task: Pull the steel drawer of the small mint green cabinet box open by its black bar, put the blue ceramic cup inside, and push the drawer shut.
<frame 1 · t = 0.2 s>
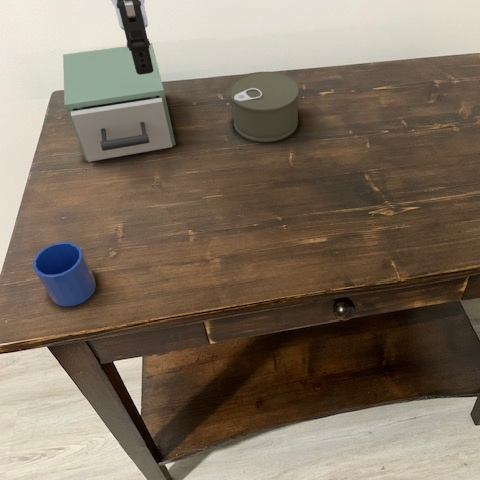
hand: (141, 56, 73), 20 cm above the table, tool pointing down, fingers open, 8 cm apart
drawer: (122, 115, 88), point 5 cm above the table, slide at 0.5 cm
mint green cabinet box: (127, 126, 95), on the table
cup: (73, 289, 70), on the table
can: (266, 123, 97), on the table
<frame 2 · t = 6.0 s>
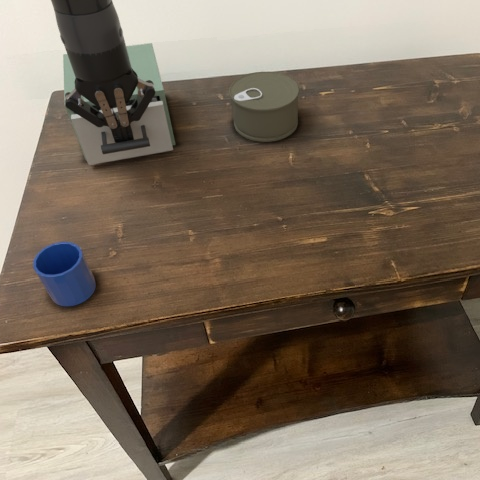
hand: (125, 143, 83), 6 cm above the table, tool pointing down, fingers closed
drawer: (122, 118, 87), point 5 cm above the table, slide at 1.4 cm
everything else where it was.
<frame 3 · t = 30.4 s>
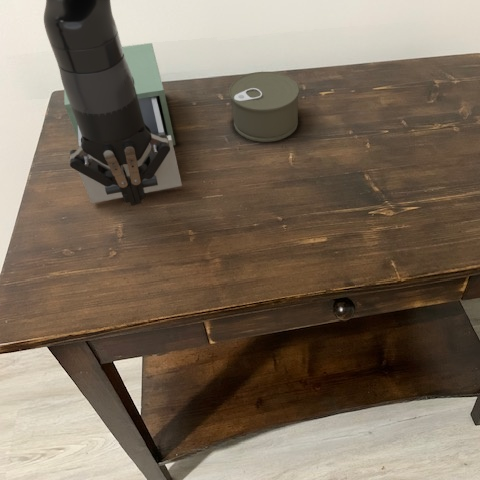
hand: (136, 200, 75), 5 cm above the table, tool pointing down, fingers closed
drawer: (127, 152, 82), point 5 cm above the table, slide at 10.7 cm, touching cup, gripper
cup: (131, 162, 85), point 2 cm above the table, touching drawer
everything else where it was.
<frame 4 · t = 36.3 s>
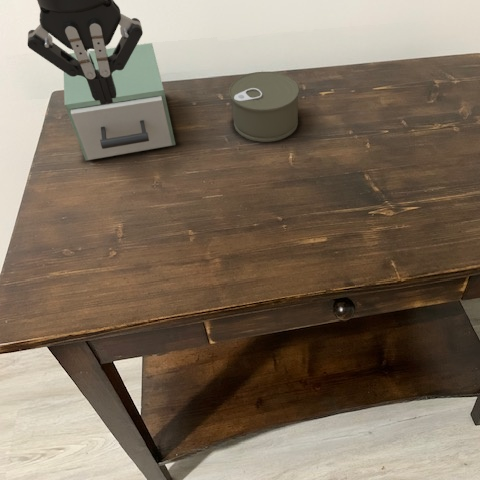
hand: (106, 100, 67), 19 cm above the table, tool pointing down, fingers closed
drawer: (121, 113, 88), point 5 cm above the table, slide at 0.0 cm, touching cup
cup: (125, 124, 92), point 2 cm above the table, touching drawer
everything else where it was.
at the end: drawer pulled out 10.9 cm at the most during the clip, back to where it started at the end; cup inside the target area in the mint green cabinet box (2.6 cm from its centre), point 2.1 cm above the mint green cabinet box's base; drawer slide at 0.0 cm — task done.
